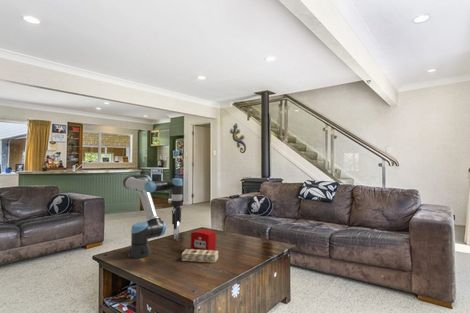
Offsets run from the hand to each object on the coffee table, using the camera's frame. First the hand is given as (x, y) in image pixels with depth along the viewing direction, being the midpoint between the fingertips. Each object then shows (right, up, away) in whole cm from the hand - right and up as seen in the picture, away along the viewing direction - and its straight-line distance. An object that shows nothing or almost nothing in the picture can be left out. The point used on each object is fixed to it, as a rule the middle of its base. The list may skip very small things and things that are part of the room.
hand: (176, 232), depth 199 cm
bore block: (+17, -19, -1) cm, 25 cm away
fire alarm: (+17, -19, +18) cm, 32 cm away
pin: (0, -4, 0) cm, 4 cm away
